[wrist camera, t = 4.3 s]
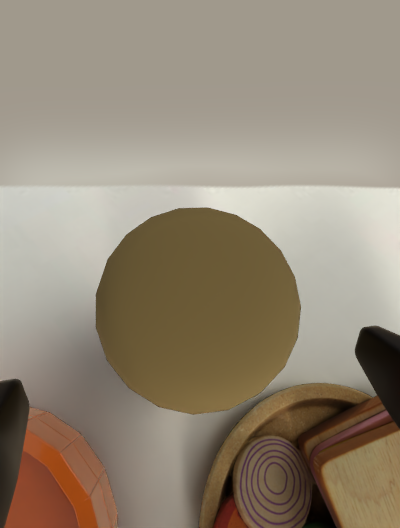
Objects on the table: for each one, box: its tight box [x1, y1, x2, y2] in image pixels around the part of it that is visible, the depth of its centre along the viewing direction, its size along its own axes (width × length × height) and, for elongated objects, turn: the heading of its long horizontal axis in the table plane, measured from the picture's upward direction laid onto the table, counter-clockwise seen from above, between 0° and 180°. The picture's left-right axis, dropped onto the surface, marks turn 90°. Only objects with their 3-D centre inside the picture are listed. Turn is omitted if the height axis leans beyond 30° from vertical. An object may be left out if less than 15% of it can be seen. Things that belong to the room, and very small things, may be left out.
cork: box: [96, 208, 301, 415], centre depth 12 cm, size 6×6×11 cm
